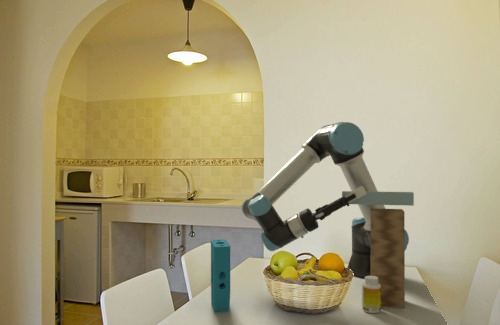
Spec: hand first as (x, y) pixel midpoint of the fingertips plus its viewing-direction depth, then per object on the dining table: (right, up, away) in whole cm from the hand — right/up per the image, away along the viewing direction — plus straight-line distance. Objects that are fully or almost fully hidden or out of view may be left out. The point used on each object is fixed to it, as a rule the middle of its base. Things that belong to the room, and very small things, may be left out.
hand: (364, 189), depth 132 cm
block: (-47, -37, -6) cm, 60 cm away
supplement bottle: (-1, -37, -10) cm, 38 cm away
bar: (+4, -5, -1) cm, 6 cm away
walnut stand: (+7, -37, -2) cm, 37 cm away
